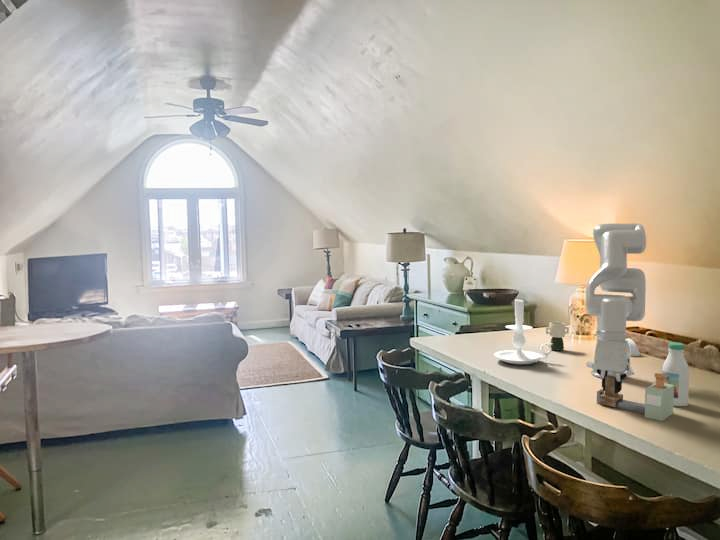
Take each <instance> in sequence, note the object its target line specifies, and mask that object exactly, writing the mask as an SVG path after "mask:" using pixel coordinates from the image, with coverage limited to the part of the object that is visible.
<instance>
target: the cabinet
mask: <svg viewBox="0 0 720 540" xmlns="http://www.w3.org/2000/svg"><path fill="white" fill-rule="evenodd" d="M673 403H674V385H671V384H666V383H664V389H662V388H656V382H654V383H652V384H651V385H649V386H647V387H645V393H644V404H645V414H644V418H647V419H650V420H655V421H660V422H663V421H664V420H666V419H668V418H669V417H671V416H672V415H673V414H674V406H673Z"/></svg>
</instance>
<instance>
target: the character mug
mask: <svg viewBox="0 0 720 540" xmlns="http://www.w3.org/2000/svg"><path fill="white" fill-rule="evenodd" d="M569 329H570V328H569V326H566V323H565V322H558V321H551V322H549V326H547V327H545V334H547V335H549V336H550V337H551V339H550V343H553V344H552V345H551V348H552V350H553V351H563V350H565V346H564V340H563V338H564V337H565V336H566V335H567V334H569V332H570V331H569Z"/></svg>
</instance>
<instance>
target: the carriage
mask: <svg viewBox="0 0 720 540" xmlns="http://www.w3.org/2000/svg"><path fill="white" fill-rule="evenodd" d="M615 381H616V376H610V375H609V376H606V377H605V391H604V393H603V394H601V395H600V403H599V404H598V405H602V404H603V406H607V407H611V406H612V407H613V408H616V401H618V400H619V399H622V400H624V394H622V393H615V392H614V390H615Z"/></svg>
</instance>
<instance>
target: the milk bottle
mask: <svg viewBox="0 0 720 540" xmlns="http://www.w3.org/2000/svg"><path fill="white" fill-rule="evenodd" d="M667 346H668V354H667V356H666V358H665V360H664V362H663V365H662V371H661V372H662V373H661V374H665V375H666V378H665V383H666V384H671V385H674V403H673V407H687V406H688V405H689V392H690V391H689V389H690V388H689V386H690V385H689V384H690V369H689V365H688V362H687V360H686V358H685V354H684V352H685V347H686V345H685V344H683V343H682V342H669V343H668V345H667Z"/></svg>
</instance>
